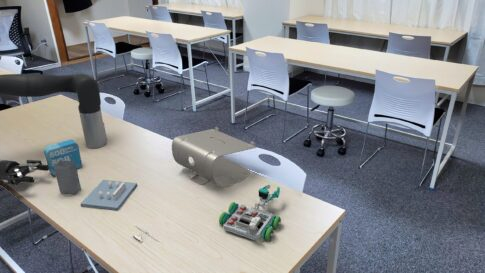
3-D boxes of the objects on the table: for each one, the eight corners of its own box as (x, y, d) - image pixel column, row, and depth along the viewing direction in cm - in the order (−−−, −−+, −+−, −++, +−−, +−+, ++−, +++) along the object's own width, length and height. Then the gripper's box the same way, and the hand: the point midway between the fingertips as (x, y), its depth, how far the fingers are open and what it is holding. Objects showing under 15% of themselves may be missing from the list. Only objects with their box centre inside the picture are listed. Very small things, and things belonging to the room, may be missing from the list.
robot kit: (294, 206, 133) (296, 183, 129) (265, 250, 113) (266, 225, 109) (247, 192, 141) (248, 171, 137) (213, 231, 121) (212, 207, 117)
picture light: (162, 243, 116) (161, 238, 115) (151, 251, 113) (150, 245, 112) (134, 224, 124) (134, 219, 123) (123, 231, 121) (122, 226, 120)
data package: (53, 177, 150) (46, 151, 145) (49, 173, 153) (42, 147, 148) (82, 167, 157) (77, 141, 152) (78, 163, 160) (73, 138, 155)
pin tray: (103, 182, 146) (102, 174, 145) (137, 185, 144) (136, 177, 143) (81, 206, 132) (79, 197, 131) (117, 210, 130) (116, 201, 128)
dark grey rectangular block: (66, 187, 143) (60, 160, 138) (81, 189, 142) (75, 161, 137) (60, 193, 139) (53, 165, 134) (75, 195, 139) (68, 167, 133)
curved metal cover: (172, 172, 153) (169, 138, 147) (214, 152, 169) (213, 121, 162) (215, 196, 138) (213, 160, 131) (256, 172, 153) (257, 138, 147)
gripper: (-16, 170, 134) (25, 174, 132) (13, 152, 147) (50, 155, 144) (-9, 188, 137) (30, 192, 135) (18, 168, 150) (54, 172, 148)
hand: (40, 173), depth 140 cm, fingers open, 8 cm apart
